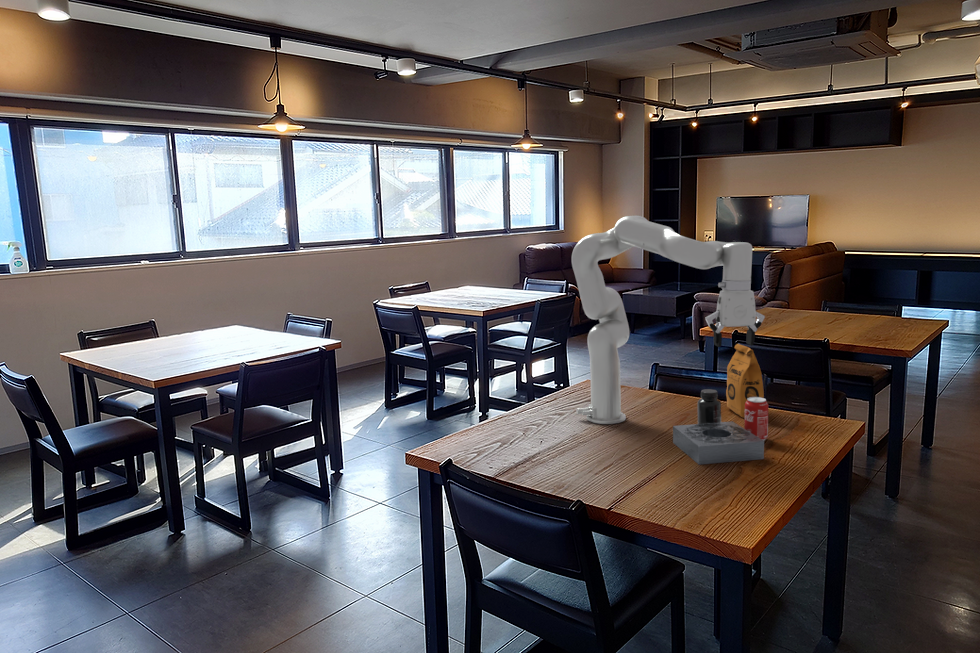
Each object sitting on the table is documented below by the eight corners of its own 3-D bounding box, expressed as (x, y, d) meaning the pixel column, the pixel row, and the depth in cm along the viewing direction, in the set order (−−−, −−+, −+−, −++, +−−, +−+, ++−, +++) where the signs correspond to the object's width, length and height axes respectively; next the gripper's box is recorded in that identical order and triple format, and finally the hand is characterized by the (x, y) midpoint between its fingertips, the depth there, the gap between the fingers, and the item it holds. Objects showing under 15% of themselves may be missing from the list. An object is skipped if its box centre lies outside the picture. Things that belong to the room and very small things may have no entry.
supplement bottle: (718, 425, 211) (718, 387, 209) (723, 432, 204) (723, 393, 202) (695, 425, 212) (695, 388, 210) (699, 432, 205) (700, 394, 203)
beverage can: (747, 434, 202) (748, 395, 200) (770, 438, 198) (771, 397, 196) (741, 440, 197) (742, 400, 195) (764, 444, 193) (765, 403, 191)
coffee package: (736, 419, 217) (737, 351, 213) (723, 408, 229) (723, 343, 225) (767, 418, 217) (769, 349, 213) (752, 407, 229) (754, 342, 225)
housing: (698, 464, 180) (698, 446, 179) (672, 442, 198) (672, 425, 197) (763, 459, 182) (764, 441, 181) (732, 437, 200) (732, 421, 199)
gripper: (713, 288, 189) (710, 349, 192) (772, 286, 191) (769, 346, 194) (701, 285, 197) (699, 343, 200) (758, 283, 199) (755, 341, 202)
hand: (733, 345), depth 197 cm, fingers open, 9 cm apart
